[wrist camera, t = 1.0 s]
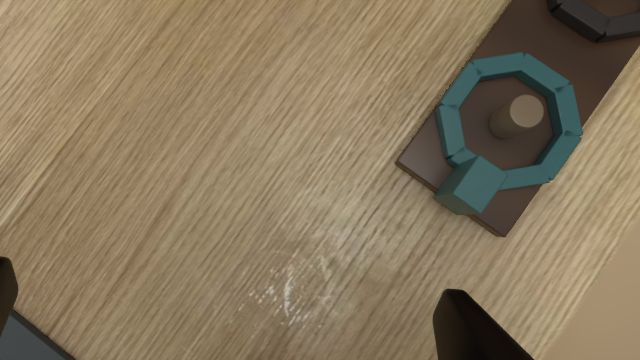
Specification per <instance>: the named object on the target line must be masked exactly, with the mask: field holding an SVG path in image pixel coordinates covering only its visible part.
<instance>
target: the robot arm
mask: <svg viewBox="0 0 640 360" xmlns="http://www.w3.org/2000/svg"><path fill="white" fill-rule="evenodd" d="M17 295H18V283H17V280H16V276H15V273H14V269H13V266H12V263H11V260H10V259H9V258H7V257H0V337H1V335H2V333H3V330H4V328H5V325H6V323H7V320H8V318H9V315H10V313H11V310H12V308H13V306H14V303H15V301H16V298H17ZM433 327H434V334H435V341H436V347H437V354H438V360H534V359H533V358H532V357H531V356H530V355H529V354H528V353H527V352H526V351H525V350H524V349H523V348H522V347H521V346H520V345H519V344H518V343H517V342H516V341H515V340H514V339H513V338H512V337H511V336H510V335H509V334H508V333H507V332H506V331H505V330H504V329H503V328H502V327H501V326H500V325H499V324H498V323H497V322H496V321H495V320H494V319H493V318H492V317H491V316H490V315H489V314H488V313H487V312H486V311H485V310H484V309H483V308H482V307H481V306H480V305H479V304H477V303H476V302H475V301H474V300H473V299H472V298H471V297H470V296H469V295H468V294H467V293H466V292H465V291H463V290H459V289H446V290H444V291H443V293H442V295H441V297H440V300H439V302H438V304H437V306H436V308H435V311H434V314H433Z"/></svg>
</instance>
